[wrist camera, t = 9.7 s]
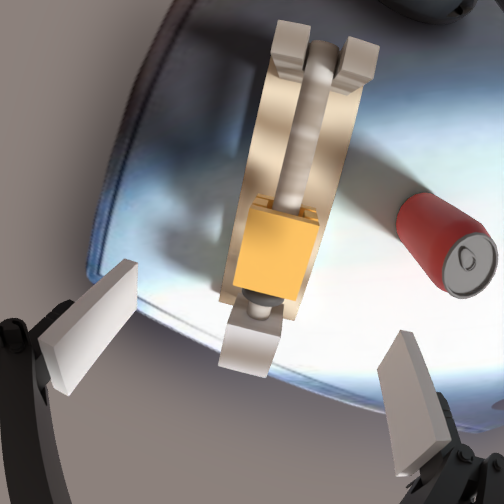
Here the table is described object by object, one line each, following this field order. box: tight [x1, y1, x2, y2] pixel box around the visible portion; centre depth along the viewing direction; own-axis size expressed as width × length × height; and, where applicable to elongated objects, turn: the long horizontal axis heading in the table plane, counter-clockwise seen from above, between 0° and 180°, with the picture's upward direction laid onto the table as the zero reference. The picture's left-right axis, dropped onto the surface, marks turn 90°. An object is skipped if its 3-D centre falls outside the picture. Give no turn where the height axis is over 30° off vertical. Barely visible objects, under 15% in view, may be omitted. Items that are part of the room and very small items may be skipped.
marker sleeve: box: [233, 193, 320, 301], centre depth 24 cm, size 6×5×5 cm
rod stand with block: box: [218, 20, 380, 378], centre depth 25 cm, size 28×9×12 cm, turn 168°
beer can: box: [396, 193, 498, 299], centre depth 24 cm, size 7×7×12 cm
